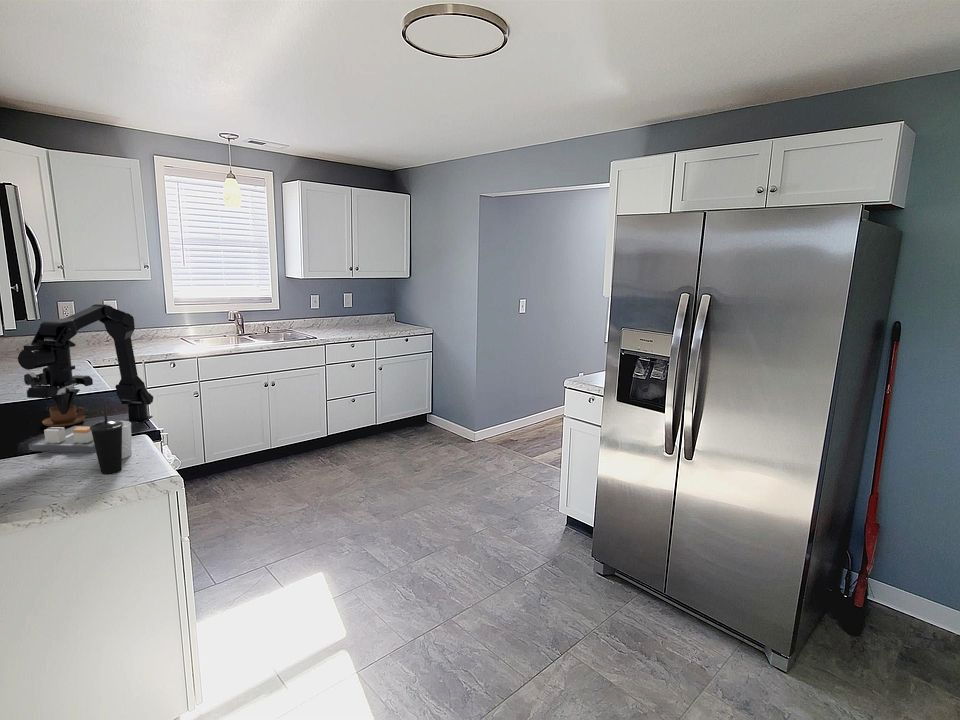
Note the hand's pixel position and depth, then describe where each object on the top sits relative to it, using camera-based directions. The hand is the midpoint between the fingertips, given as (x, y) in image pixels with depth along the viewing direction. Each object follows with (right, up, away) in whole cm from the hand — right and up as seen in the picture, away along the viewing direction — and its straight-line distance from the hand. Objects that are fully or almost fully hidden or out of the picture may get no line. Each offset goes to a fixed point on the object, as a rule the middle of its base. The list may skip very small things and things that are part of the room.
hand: (64, 414), depth 163 cm
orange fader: (+3, -9, +5) cm, 10 cm away
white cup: (+17, -13, 0) cm, 21 cm away
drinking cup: (+22, -15, -11) cm, 29 cm away
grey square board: (-2, -10, +10) cm, 14 cm away
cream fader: (-5, -9, +4) cm, 11 cm away
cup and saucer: (-20, -6, +26) cm, 33 cm away
